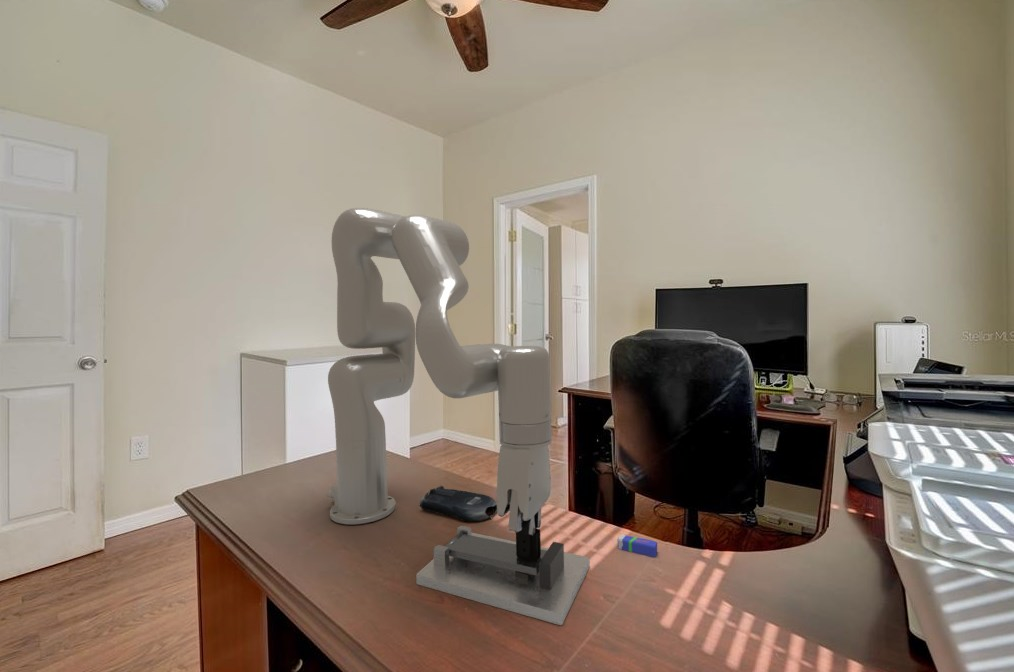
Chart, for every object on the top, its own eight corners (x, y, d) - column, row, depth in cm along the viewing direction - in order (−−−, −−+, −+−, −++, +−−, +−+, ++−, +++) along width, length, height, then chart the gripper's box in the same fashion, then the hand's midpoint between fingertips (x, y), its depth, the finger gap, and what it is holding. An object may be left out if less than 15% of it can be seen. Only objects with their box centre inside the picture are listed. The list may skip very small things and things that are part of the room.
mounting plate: (416, 584, 63) (415, 550, 63) (465, 539, 76) (464, 511, 76) (561, 625, 54) (561, 586, 54) (589, 566, 67) (589, 534, 67)
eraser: (620, 544, 74) (620, 533, 74) (657, 553, 71) (657, 541, 71) (617, 550, 72) (617, 538, 72) (655, 559, 69) (655, 546, 69)
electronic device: (417, 522, 87) (483, 525, 80) (416, 493, 87) (481, 494, 81) (443, 510, 95) (505, 511, 89) (442, 483, 96) (503, 483, 90)
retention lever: (441, 555, 67) (440, 546, 67) (458, 540, 71) (457, 531, 71) (536, 577, 60) (536, 567, 60) (548, 558, 65) (548, 549, 65)
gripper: (521, 419, 71) (524, 529, 72) (477, 443, 57) (481, 579, 58) (565, 422, 68) (568, 538, 68) (530, 448, 54) (534, 592, 55)
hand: (528, 556), depth 63 cm, fingers closed
